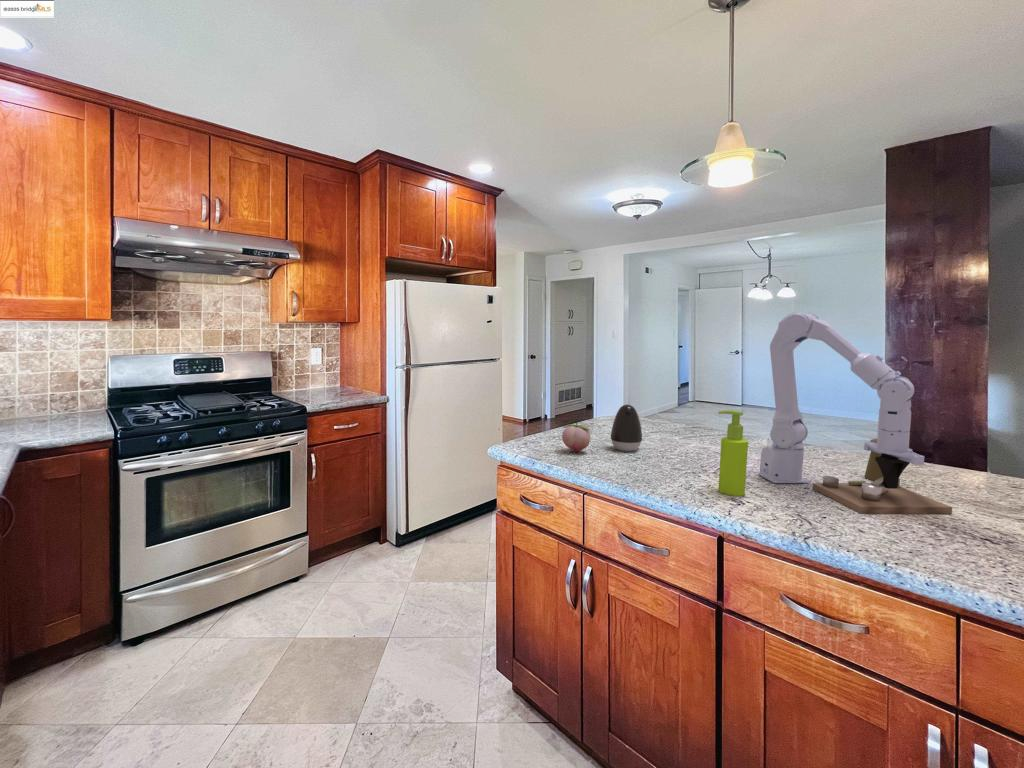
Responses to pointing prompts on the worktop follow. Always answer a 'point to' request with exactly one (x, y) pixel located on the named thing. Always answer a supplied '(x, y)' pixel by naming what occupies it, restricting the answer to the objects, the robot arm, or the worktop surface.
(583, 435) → the decorative fruit
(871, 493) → the lever handle
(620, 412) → the black rounded dome
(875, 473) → the cork
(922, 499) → the brown latch board
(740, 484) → the soap dispenser
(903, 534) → the worktop surface
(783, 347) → the robot arm
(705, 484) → the worktop surface
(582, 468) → the worktop surface
